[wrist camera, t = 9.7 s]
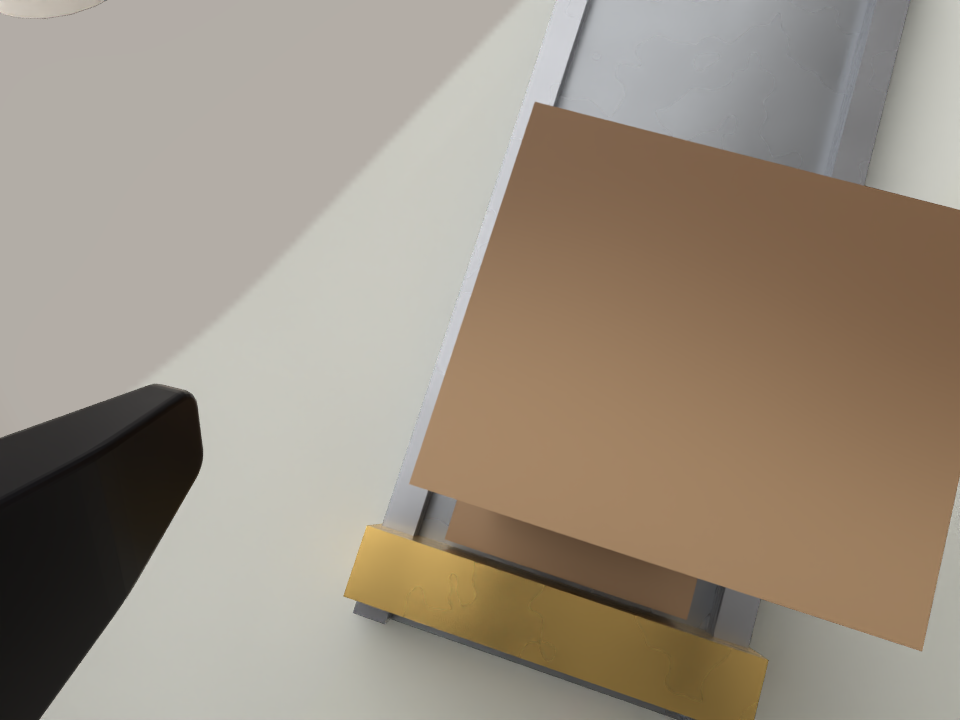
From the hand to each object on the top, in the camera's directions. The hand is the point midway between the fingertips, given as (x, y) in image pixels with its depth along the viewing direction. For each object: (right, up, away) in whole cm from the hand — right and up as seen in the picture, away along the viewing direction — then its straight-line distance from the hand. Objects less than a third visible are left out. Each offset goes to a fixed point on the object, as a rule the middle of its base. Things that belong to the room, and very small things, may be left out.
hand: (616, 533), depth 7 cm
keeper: (+2, -1, +12) cm, 12 cm away
